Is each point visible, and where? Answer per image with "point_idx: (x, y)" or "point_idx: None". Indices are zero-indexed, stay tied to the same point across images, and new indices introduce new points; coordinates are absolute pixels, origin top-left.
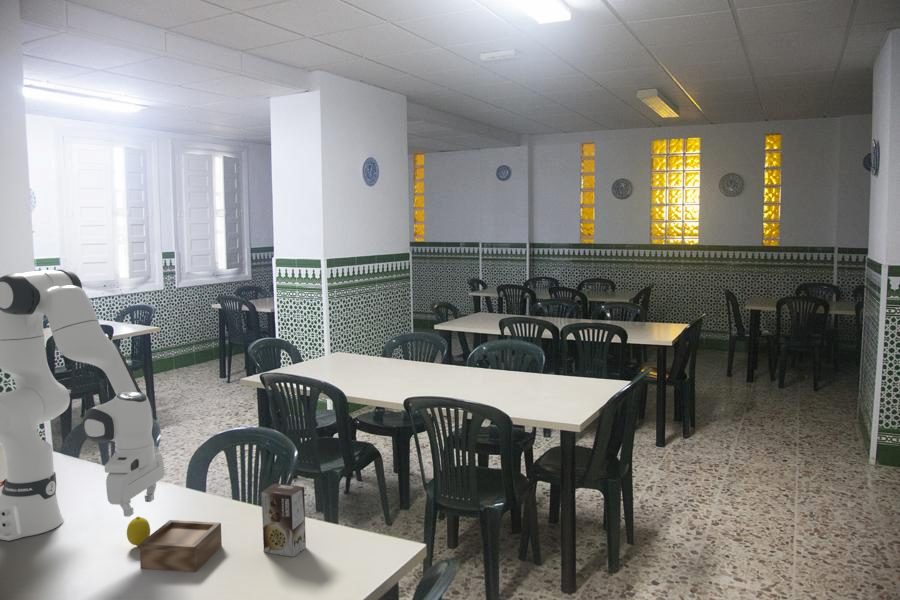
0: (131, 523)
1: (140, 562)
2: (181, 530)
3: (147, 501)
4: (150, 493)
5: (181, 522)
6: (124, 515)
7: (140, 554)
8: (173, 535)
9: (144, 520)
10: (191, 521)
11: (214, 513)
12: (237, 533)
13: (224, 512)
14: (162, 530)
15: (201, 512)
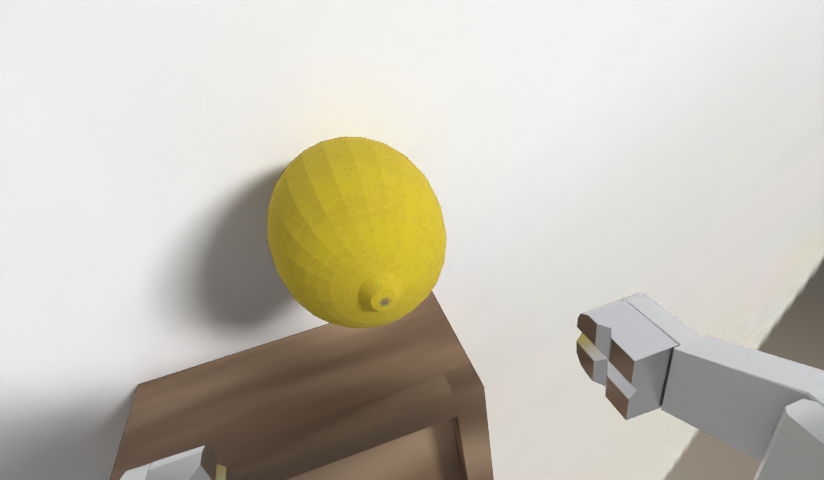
0: (307, 270)
1: (130, 412)
2: (416, 457)
3: (583, 330)
4: (676, 395)
5: (465, 453)
6: (126, 478)
7: (119, 456)
8: (349, 475)
9: (394, 320)
10: (488, 474)
11: (746, 223)
12: (561, 417)
13: (749, 253)
14: (344, 451)
15: (768, 159)
